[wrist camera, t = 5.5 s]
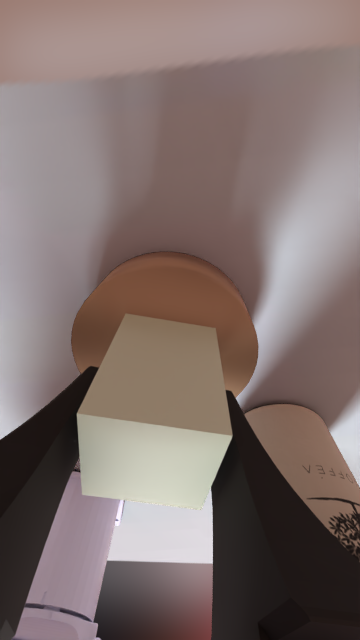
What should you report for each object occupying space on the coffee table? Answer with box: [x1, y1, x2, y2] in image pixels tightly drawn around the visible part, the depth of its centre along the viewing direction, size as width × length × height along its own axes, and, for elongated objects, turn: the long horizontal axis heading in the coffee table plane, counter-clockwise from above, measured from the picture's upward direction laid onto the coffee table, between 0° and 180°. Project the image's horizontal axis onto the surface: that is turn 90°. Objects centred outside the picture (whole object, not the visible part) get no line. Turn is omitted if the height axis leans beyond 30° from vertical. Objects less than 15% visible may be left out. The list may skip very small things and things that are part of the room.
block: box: [77, 314, 233, 510], centre depth 11 cm, size 4×4×6 cm
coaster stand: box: [71, 252, 258, 398], centre depth 15 cm, size 10×10×3 cm
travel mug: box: [244, 404, 360, 562], centre depth 13 cm, size 8×8×18 cm
